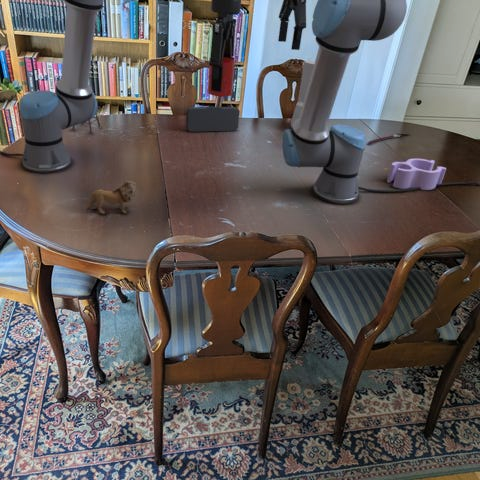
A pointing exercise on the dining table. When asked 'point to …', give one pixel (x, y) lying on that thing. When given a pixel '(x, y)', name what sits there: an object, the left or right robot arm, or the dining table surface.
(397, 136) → the sword
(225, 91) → the canister
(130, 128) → the dining table surface
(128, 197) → the lion figurine
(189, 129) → the dark grey rectangular block
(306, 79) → the electronic device
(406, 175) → the clip
